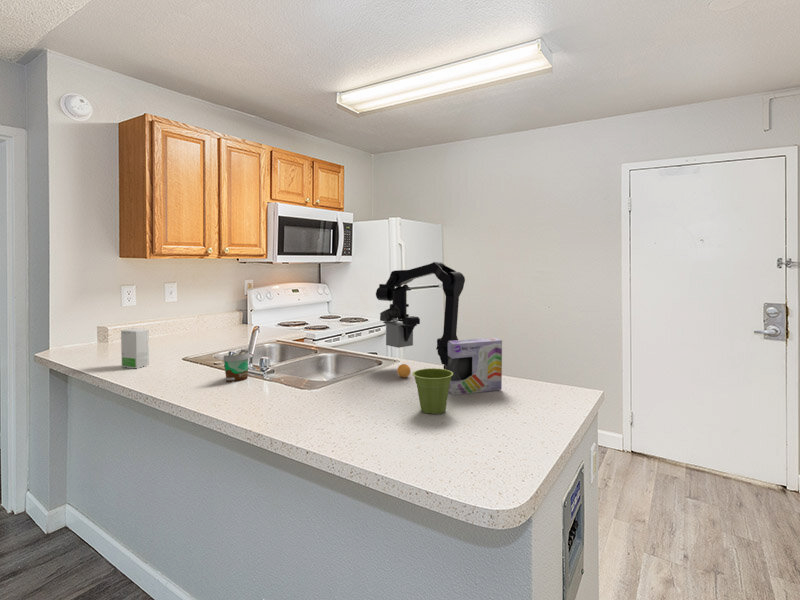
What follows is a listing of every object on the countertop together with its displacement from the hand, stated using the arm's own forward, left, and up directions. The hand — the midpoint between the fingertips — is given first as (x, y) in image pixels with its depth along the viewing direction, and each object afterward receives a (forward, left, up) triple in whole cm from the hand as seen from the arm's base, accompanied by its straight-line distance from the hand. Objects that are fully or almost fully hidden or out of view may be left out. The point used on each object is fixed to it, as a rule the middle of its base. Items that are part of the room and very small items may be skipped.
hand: (399, 340), depth 180 cm
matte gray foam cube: (0, 0, -2) cm, 2 cm away
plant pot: (-45, +25, -12) cm, 53 cm away
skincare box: (+74, +81, -12) cm, 110 cm away
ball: (-11, +7, -9) cm, 16 cm away
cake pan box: (-40, +1, -12) cm, 42 cm away
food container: (+26, +55, -12) cm, 62 cm away
